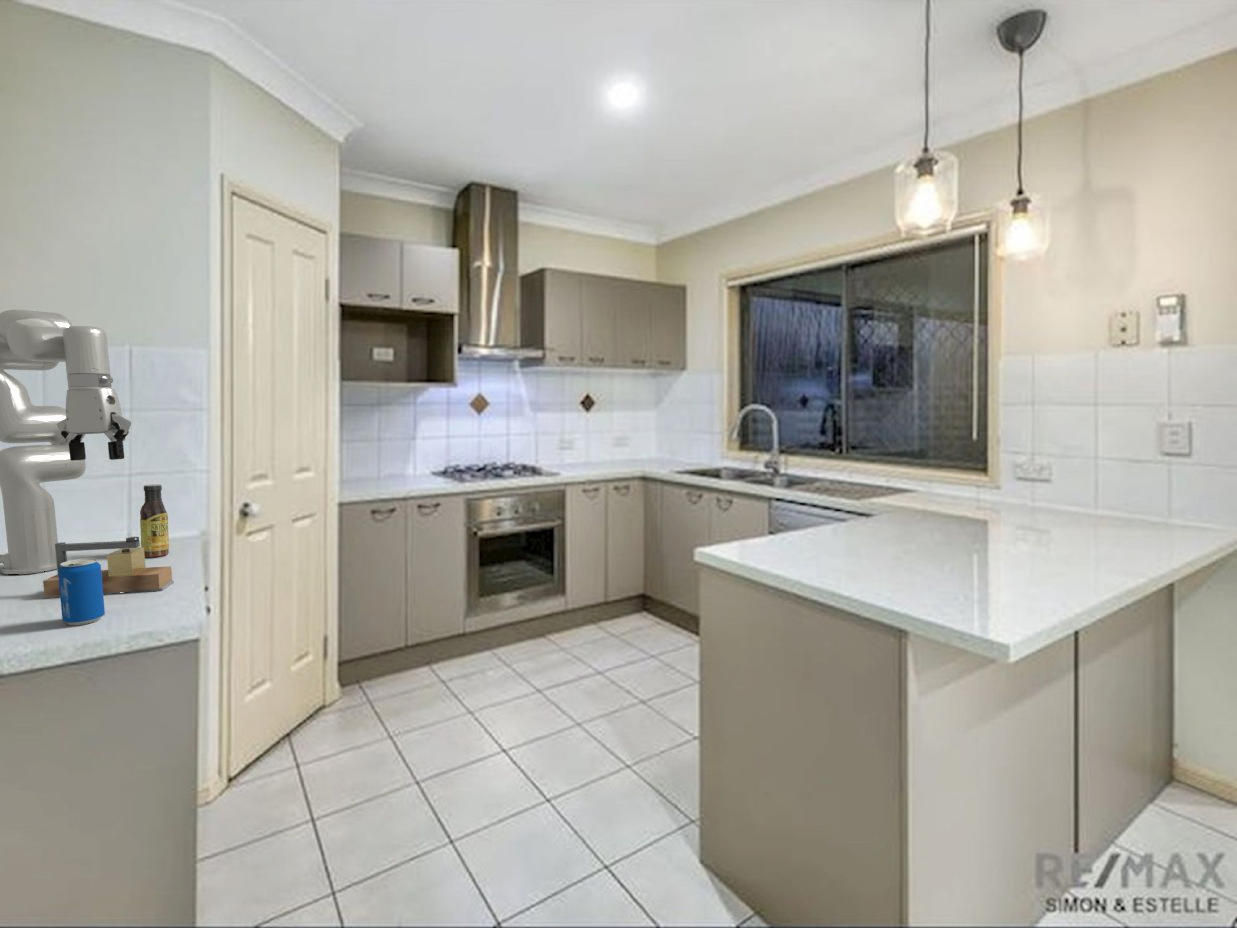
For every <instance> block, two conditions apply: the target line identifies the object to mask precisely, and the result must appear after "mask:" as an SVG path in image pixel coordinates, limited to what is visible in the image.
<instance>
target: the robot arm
mask: <svg viewBox="0 0 1237 928" xmlns="http://www.w3.org/2000/svg"><path fill="white" fill-rule="evenodd" d="M60 362H61V363H62V362H63V363H65V371H66V379H67V386H68V387H67V388H68V389H67V390H66V396H65V397H66V398H65V408H63V407H62V406H58V405H35V404H33V403H32V401H31V400H30V397H29V391H28V389H27V388H26V387H25V385H23V383H21V382H20V381H19V380H18V379H17V378H15V377H14V376H13V375H11V374H9V373H8V372H6V371H5V370H14V371H15V370H17V371H19V370H20V371H50V370H52V369H55V368H56V367H57V366H58V364H60ZM110 366H111V365H110V358H109V348H108V338H107V333H106V331H104V329H102V328H100V327H97V326H87V325H73V324H72V322H71V321H70V320H69V318H68V317H66V316H65V315H64V314H60V313H56V312H48V311H39V310H38V311H37V310H36V311H35V310H27V309H8V310H4V311H1V312H0V442H2V443H5V444H6V443H7V444H31V443H33V444H34V443H35V445H33V444H32V445H19V446H17V445H16V446H11V447H7V448H4V449H1V450H0V492H1V496H2V505H3V514H4V523H5V532H6V536H5V537H6V543H7V552H6V553H4V554H0V564H3V566H2V567H1V568H0V569H1V573H2V574H3V575H8V574H19V575H29V574H38V573H43V572H44V571H45V572H50V571H54V570H57V562H56V551H55V544H56V543H59V541H58V540H59V539H58V531H57V530H58V529H57V520H56V518H57V517H56V507H55V501H54V497H53V496H52V495H51V493H49V492H48V491H47V490H46V489H45V488H43V487H42V486H41V485H40V484H43V483H48V482H57V481H58V482H59V481H68V480H75V479H78V478H80V477H81V476H83V474H84V473H85V471H86V468H87V467H86V465H87V463H86V459H87V457H86V447H85V446H86V445H85V442H84V441H83V439H84V437H86V435H92V434H96V435H97V434H104V435H105V436H106V437H107V439H108V440H109V441H108V442H107V447H108V448H107V449H108V458H109V460H111V461H114V460H124V459H125V451H124V449H125V448H124V442H125V441H126V437H127V436H128V434H129V433H130V428H131V425H132V422H131V420H128V419H127V418H125V417H123V414H122V408H121V404H120V400H119V397H118V394H117V391H116V389H115V388H113V387H112V383H113V382H114V379H113V377H111V369H110ZM36 443H49V444H39V445H37V444H36Z"/></svg>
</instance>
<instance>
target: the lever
mask: <svg viewBox="0 0 1237 928" xmlns="http://www.w3.org/2000/svg"><path fill="white" fill-rule="evenodd" d="M139 547H141V541H140V537H139V536H129V537H125V540H116V541H115V540H114V541H99V542H98V541H97V542H96V541H95V542H93V541H92V542H75V543H74V542H73V543H71V542H70V543H66V542H65V541H64V542H62V541H61V542H58V543H56V544H55V551H56V562H57V569H56V572H57V574H58V570H59V568H60V567H61V566H60V564H61V563H63V562H67V561H68V557H67V552H76V551H78V552H79V551H81V552H82V551H98V550H101V551H102V550H119V549H121V548H139Z"/></svg>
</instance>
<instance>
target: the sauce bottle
mask: <svg viewBox="0 0 1237 928" xmlns="http://www.w3.org/2000/svg"><path fill="white" fill-rule="evenodd" d="M162 490H163V488H162V484H159V483H158V484H145V485H143V492H144V504H143V505H141V508H140V511H139V512H140V519H139V524H140V525H139V526H140V527H139V528H140V547H144V555H145V558H150V559H151V558H159V557H164V556H166V555H168V554H169V553H170V552H169V551H170V550H169V549H170V544H169V543H170V539H169V517H168V512H167V510H166V508H165V505H164V502H163V498H162Z"/></svg>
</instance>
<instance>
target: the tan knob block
mask: <svg viewBox="0 0 1237 928" xmlns="http://www.w3.org/2000/svg"><path fill="white" fill-rule="evenodd" d="M106 558H107V570H108V573H109V577H113V576H130V575H134V574H136V573H138V572H139V571H141V570H143V569H145V568H146V560H145V558H146V557H145V555H144V547H141V546H139V547H137V548H121V549H116V550H114V551H113V552H110V553H108V554H106Z"/></svg>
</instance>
